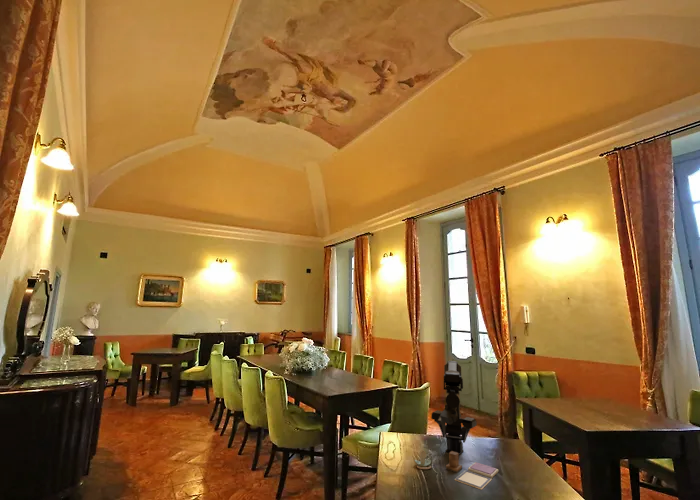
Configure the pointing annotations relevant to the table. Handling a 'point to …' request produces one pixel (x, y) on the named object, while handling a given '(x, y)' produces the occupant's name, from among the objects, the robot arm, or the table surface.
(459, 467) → the stamp
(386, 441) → the table surface
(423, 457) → the pacifier
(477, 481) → the marked card
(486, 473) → the ink pad
